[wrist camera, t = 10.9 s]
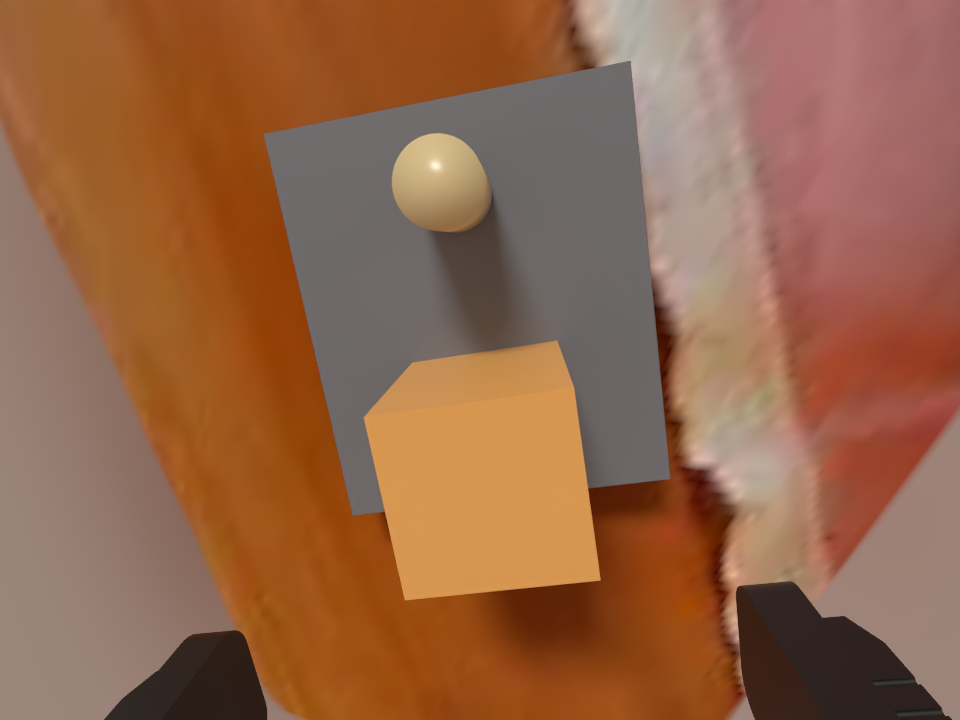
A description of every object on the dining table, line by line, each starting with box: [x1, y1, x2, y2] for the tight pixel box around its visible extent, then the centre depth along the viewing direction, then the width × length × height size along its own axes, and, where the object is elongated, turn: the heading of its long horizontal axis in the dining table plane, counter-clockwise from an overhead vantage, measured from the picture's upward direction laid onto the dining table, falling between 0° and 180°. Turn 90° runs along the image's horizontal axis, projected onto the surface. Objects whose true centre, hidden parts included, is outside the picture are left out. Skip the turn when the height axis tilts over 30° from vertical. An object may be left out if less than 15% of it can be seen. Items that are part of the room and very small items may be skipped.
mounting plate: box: [264, 61, 670, 515], centre depth 18 cm, size 12×14×6 cm
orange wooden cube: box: [364, 341, 601, 600], centre depth 16 cm, size 5×5×6 cm
